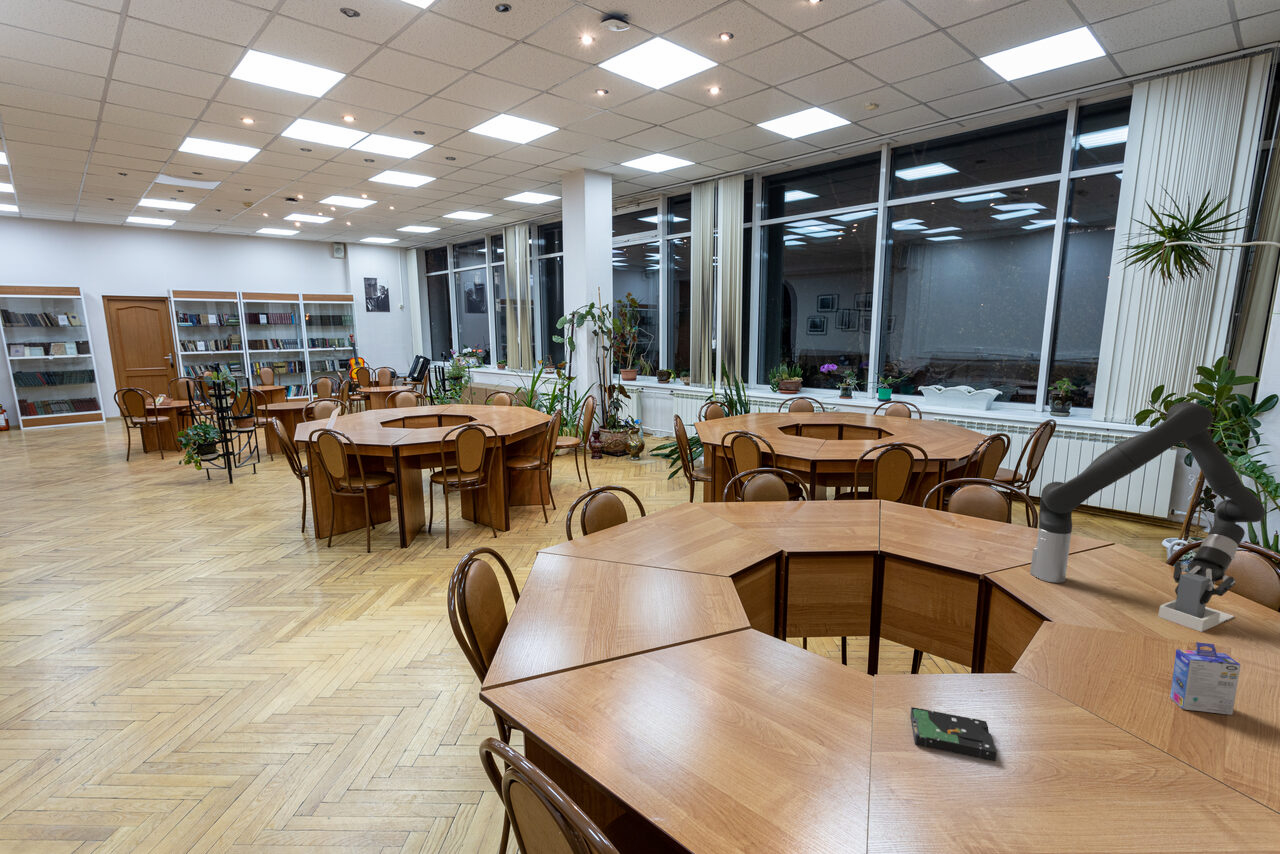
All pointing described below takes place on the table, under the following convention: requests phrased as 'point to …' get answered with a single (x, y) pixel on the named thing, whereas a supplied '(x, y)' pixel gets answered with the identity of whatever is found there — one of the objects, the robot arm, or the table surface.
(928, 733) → the disk drive
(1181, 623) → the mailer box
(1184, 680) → the ink cartridge box
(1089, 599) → the table surface
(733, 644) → the table surface
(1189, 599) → the charcoal carton
